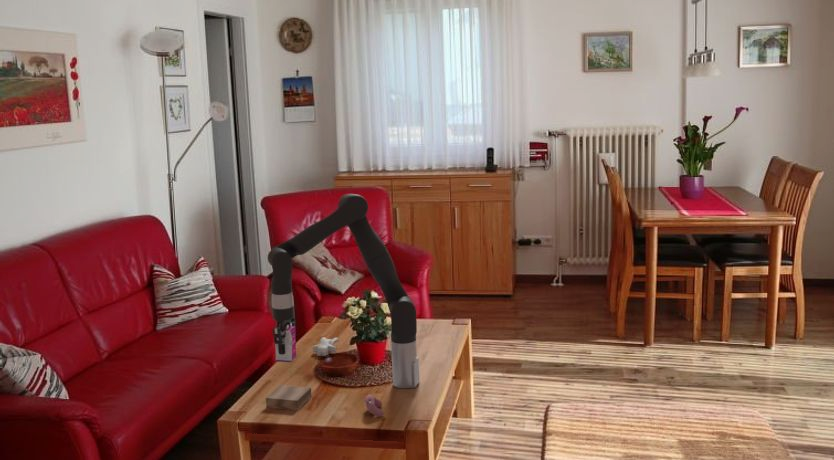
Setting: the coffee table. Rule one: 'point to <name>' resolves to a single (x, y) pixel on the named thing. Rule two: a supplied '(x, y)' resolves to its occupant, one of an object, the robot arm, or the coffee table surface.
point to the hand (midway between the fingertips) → (286, 350)
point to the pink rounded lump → (373, 405)
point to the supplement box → (287, 346)
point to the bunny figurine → (325, 346)
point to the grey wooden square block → (288, 397)
